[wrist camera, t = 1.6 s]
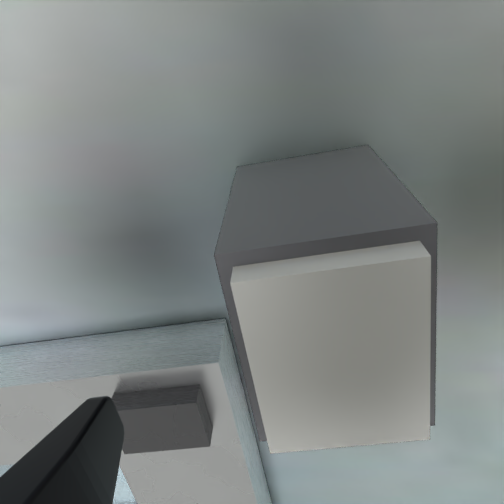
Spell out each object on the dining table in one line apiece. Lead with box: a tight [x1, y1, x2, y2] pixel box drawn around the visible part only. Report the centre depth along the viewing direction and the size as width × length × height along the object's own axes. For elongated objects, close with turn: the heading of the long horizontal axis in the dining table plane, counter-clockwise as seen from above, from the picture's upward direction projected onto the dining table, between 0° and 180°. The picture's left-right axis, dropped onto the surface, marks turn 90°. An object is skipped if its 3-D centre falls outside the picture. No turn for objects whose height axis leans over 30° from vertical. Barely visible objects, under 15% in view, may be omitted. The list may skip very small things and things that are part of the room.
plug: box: [214, 145, 437, 454], centre depth 11 cm, size 5×4×7 cm
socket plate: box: [0, 318, 272, 504], centre depth 18 cm, size 14×13×3 cm
